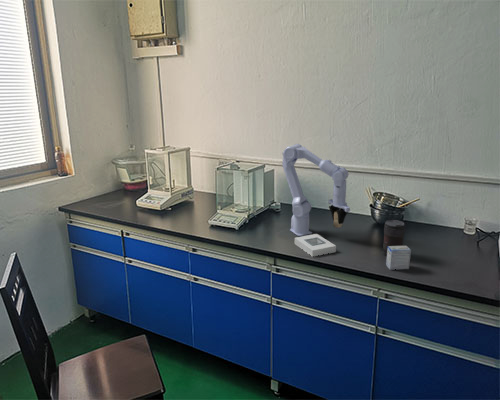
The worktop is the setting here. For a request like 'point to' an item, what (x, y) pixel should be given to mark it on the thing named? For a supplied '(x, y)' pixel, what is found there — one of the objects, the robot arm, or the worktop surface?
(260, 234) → the worktop surface
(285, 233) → the worktop surface
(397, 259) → the medicine box
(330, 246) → the socket board
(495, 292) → the worktop surface
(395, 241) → the camera lens
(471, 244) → the worktop surface
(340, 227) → the peg
